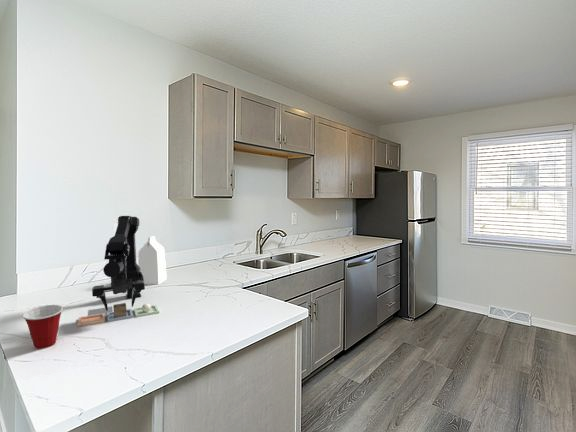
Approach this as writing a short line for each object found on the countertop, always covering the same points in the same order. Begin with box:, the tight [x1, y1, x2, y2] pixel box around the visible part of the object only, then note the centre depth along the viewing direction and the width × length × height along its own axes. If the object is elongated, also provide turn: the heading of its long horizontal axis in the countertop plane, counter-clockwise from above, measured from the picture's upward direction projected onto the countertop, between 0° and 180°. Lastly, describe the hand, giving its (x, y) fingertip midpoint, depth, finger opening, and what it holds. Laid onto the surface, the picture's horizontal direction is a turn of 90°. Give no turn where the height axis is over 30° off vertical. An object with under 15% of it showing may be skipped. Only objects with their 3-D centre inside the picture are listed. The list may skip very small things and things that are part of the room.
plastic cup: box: [22, 304, 64, 350], centre depth 107 cm, size 11×11×12 cm
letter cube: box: [112, 302, 127, 318], centre depth 132 cm, size 4×4×5 cm
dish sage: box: [133, 304, 160, 318], centre depth 137 cm, size 9×9×1 cm
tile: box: [87, 306, 114, 316], centre depth 137 cm, size 9×9×1 cm
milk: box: [137, 235, 168, 285], centre depth 185 cm, size 12×12×26 cm
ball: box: [141, 303, 152, 312], centre depth 137 cm, size 4×4×4 cm
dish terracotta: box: [76, 313, 106, 328], centre depth 127 cm, size 9×9×1 cm
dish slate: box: [106, 308, 134, 323], centre depth 132 cm, size 9×9×1 cm
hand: (119, 308), depth 132 cm, fingers open, 9 cm apart
